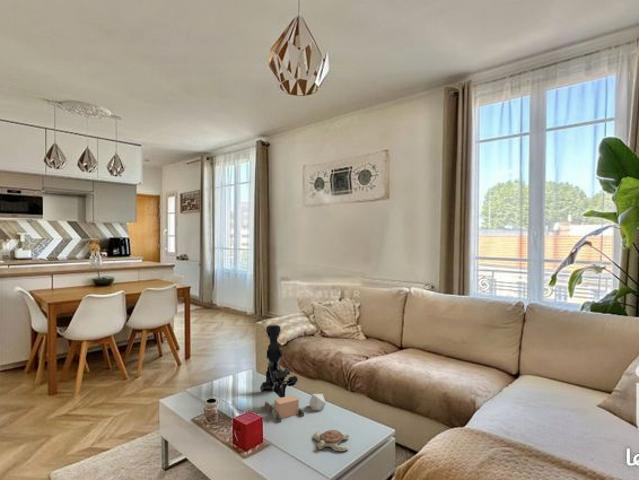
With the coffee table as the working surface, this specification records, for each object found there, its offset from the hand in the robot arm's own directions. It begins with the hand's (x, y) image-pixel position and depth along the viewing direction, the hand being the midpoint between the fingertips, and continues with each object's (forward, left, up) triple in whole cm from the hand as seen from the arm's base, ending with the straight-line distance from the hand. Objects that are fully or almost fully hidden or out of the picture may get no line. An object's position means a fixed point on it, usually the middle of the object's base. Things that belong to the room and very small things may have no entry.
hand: (283, 400), depth 182 cm
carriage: (+1, +3, -5) cm, 6 cm away
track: (0, 0, -7) cm, 7 cm away
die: (-14, +10, -7) cm, 18 cm away
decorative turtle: (+3, +33, -7) cm, 34 cm away
